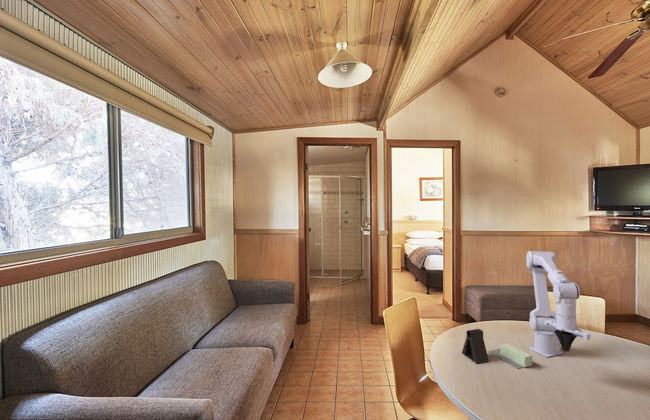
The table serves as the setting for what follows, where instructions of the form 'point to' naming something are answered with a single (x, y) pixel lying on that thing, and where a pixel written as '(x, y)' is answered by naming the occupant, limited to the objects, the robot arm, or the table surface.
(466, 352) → the phone stand
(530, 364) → the sage block
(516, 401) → the table surface
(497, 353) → the mat
